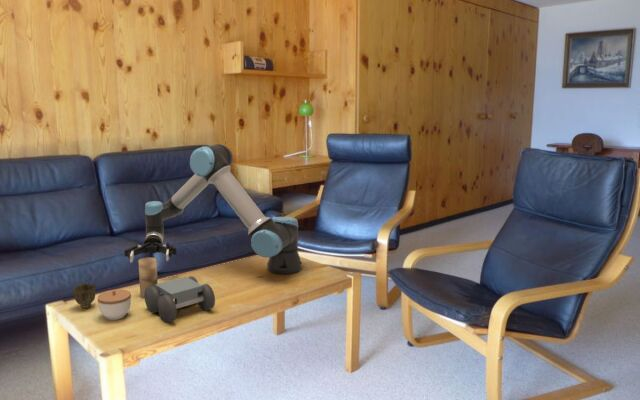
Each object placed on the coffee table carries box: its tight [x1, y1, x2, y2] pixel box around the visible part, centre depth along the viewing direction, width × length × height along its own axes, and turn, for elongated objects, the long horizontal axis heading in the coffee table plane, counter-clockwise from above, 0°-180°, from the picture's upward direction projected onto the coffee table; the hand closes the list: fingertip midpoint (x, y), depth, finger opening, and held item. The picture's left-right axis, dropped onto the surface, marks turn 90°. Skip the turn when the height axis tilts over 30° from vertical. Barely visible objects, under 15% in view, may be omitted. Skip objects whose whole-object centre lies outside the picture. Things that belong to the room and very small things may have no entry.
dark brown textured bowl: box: [72, 282, 97, 310], centre depth 187 cm, size 8×7×8 cm
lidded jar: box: [96, 288, 132, 321], centre depth 181 cm, size 11×11×9 cm
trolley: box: [143, 276, 216, 323], centre depth 186 cm, size 17×19×10 cm
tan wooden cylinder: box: [137, 256, 158, 299], centre depth 199 cm, size 6×6×14 cm
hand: (149, 258), depth 207 cm, fingers open, 13 cm apart
